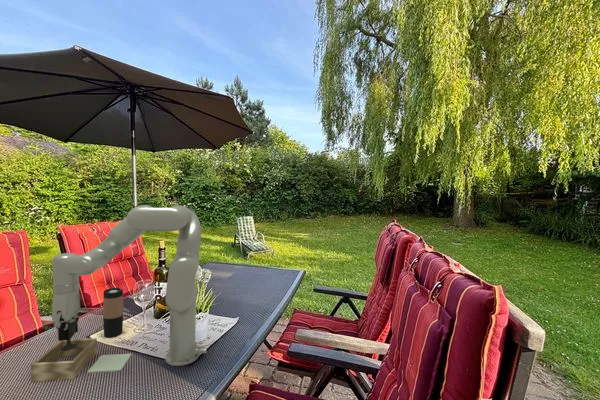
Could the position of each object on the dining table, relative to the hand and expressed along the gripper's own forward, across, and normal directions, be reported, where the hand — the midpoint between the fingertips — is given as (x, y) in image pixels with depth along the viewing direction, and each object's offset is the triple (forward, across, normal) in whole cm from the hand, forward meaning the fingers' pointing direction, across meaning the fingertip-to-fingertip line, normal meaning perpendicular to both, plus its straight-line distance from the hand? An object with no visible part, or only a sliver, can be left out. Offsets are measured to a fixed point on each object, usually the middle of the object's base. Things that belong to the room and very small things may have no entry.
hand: (68, 335), depth 116 cm
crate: (+12, 0, -1) cm, 12 cm away
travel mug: (+12, -24, +6) cm, 28 cm away
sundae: (+5, 0, 0) cm, 5 cm away
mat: (+12, 0, +14) cm, 18 cm away
